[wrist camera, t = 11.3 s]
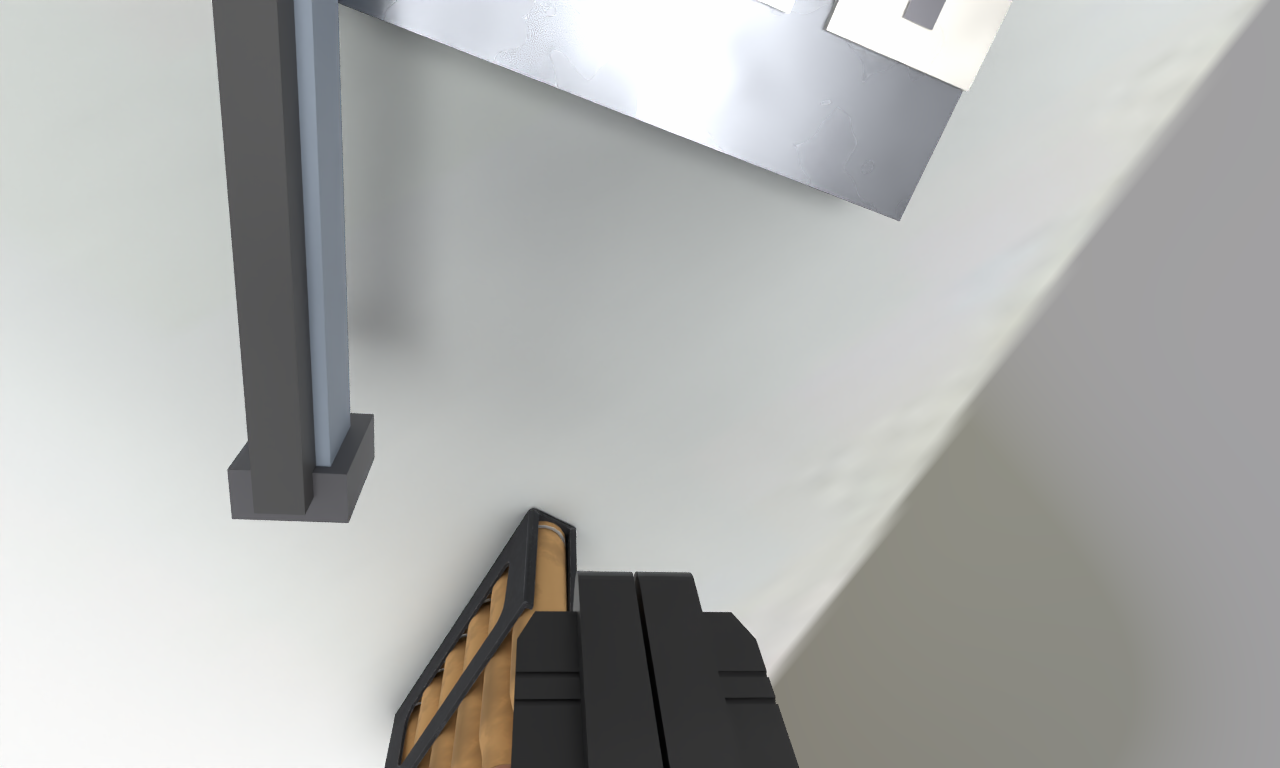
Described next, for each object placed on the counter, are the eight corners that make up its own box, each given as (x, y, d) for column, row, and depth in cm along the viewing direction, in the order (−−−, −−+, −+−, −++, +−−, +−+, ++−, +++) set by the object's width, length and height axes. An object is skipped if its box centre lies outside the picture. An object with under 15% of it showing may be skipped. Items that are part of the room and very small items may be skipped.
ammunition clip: (531, 505, 29) (522, 793, 18) (577, 527, 30) (594, 820, 19) (394, 716, 32) (315, 1071, 21) (438, 732, 33) (382, 1087, 22)
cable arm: (361, -279, 15) (308, -364, 12) (374, 458, 21) (341, 540, 18) (221, -300, 15) (126, -394, 12) (273, 453, 21) (220, 536, 17)
